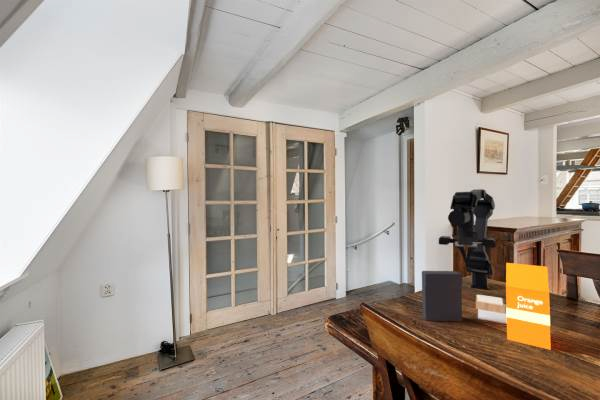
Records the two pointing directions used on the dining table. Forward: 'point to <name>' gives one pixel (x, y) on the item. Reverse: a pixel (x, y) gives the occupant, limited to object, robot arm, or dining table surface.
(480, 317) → the mat
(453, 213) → the robot arm
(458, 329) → the dining table surface
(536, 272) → the orange juice
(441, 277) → the charcoal upright rounded slab
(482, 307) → the tile
